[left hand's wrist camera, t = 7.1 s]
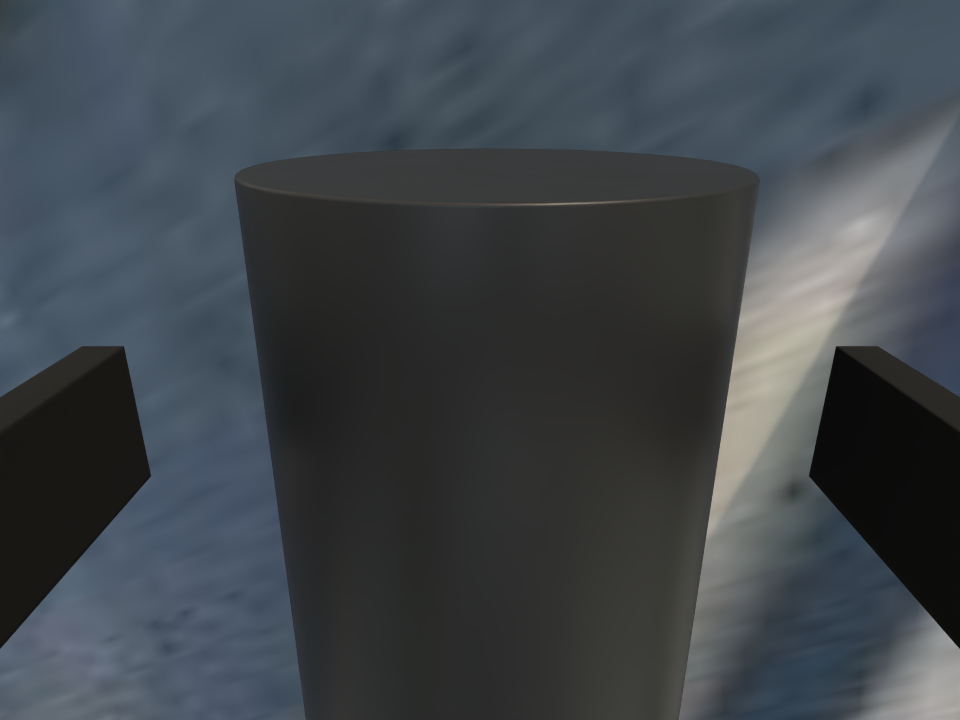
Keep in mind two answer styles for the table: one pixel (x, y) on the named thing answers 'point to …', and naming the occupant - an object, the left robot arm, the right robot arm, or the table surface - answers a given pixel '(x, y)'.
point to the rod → (494, 420)
